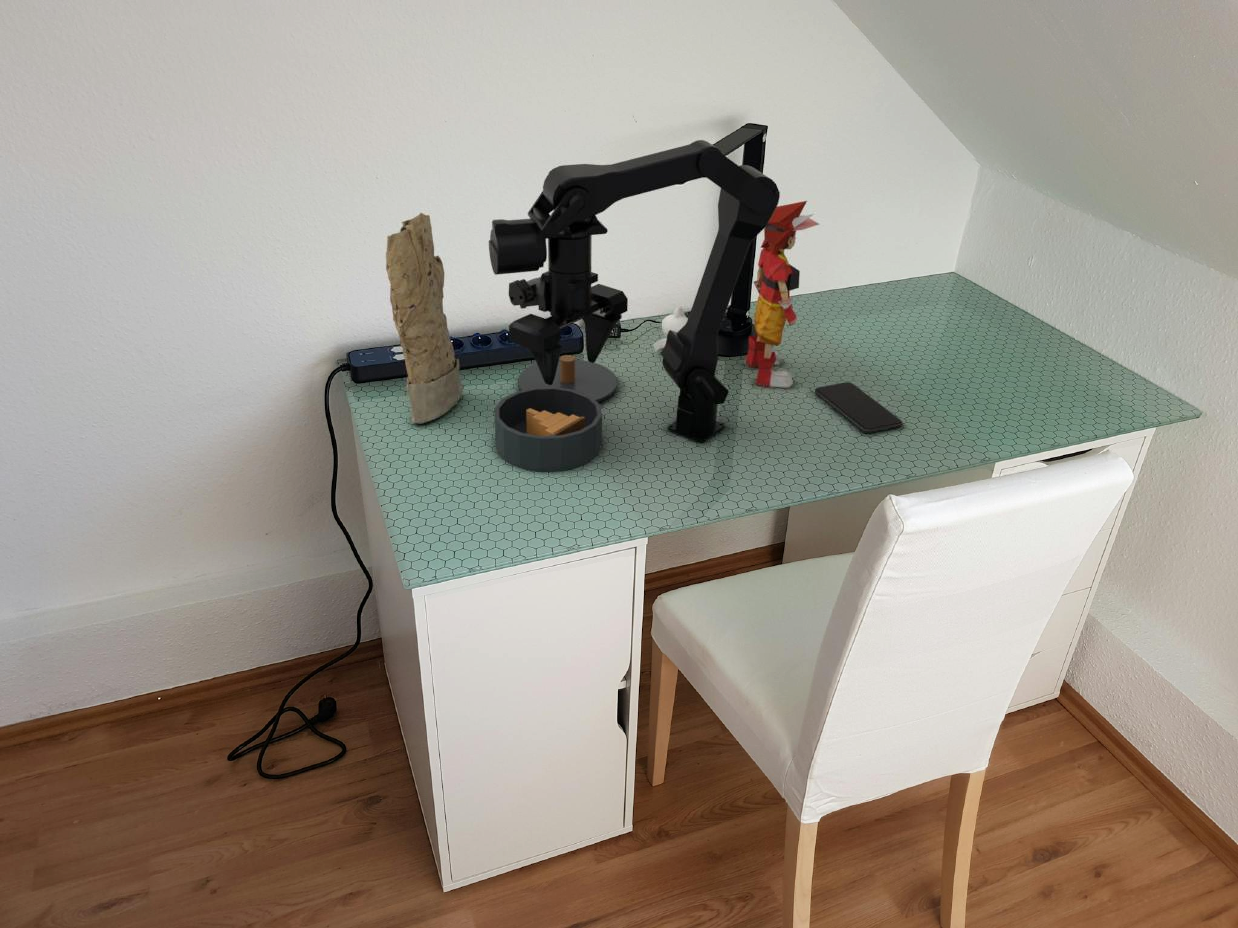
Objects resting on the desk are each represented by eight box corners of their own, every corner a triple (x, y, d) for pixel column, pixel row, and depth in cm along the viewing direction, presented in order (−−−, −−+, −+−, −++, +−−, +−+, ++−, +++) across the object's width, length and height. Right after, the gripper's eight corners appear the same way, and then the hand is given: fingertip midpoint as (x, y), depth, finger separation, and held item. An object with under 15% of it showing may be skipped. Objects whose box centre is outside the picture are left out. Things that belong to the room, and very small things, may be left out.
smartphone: (904, 427, 152) (849, 385, 164) (905, 422, 152) (850, 380, 163) (864, 435, 149) (811, 392, 161) (865, 430, 149) (812, 387, 161)
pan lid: (562, 356, 170) (562, 329, 168) (636, 384, 162) (638, 356, 159) (497, 388, 159) (495, 360, 157) (573, 420, 151) (573, 390, 148)
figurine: (708, 376, 165) (713, 315, 160) (684, 383, 163) (688, 321, 157) (667, 350, 174) (671, 291, 168) (644, 356, 172) (646, 296, 166)
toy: (811, 385, 163) (837, 207, 148) (764, 393, 161) (785, 212, 145) (776, 356, 173) (796, 185, 157) (730, 363, 170) (747, 190, 154)
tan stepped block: (584, 441, 145) (585, 417, 143) (553, 460, 140) (553, 435, 138) (544, 423, 149) (543, 400, 147) (512, 441, 144) (511, 417, 142)
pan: (544, 409, 154) (543, 377, 151) (621, 441, 146) (623, 408, 143) (473, 447, 144) (472, 413, 141) (553, 484, 136) (553, 449, 133)
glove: (472, 420, 150) (461, 229, 135) (404, 429, 147) (384, 234, 132) (457, 381, 161) (445, 200, 146) (393, 388, 158) (374, 205, 143)
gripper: (569, 236, 140) (570, 336, 149) (476, 271, 128) (482, 378, 136) (631, 253, 135) (628, 357, 143) (539, 292, 122) (542, 403, 130)
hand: (570, 372), depth 138 cm, fingers open, 9 cm apart
